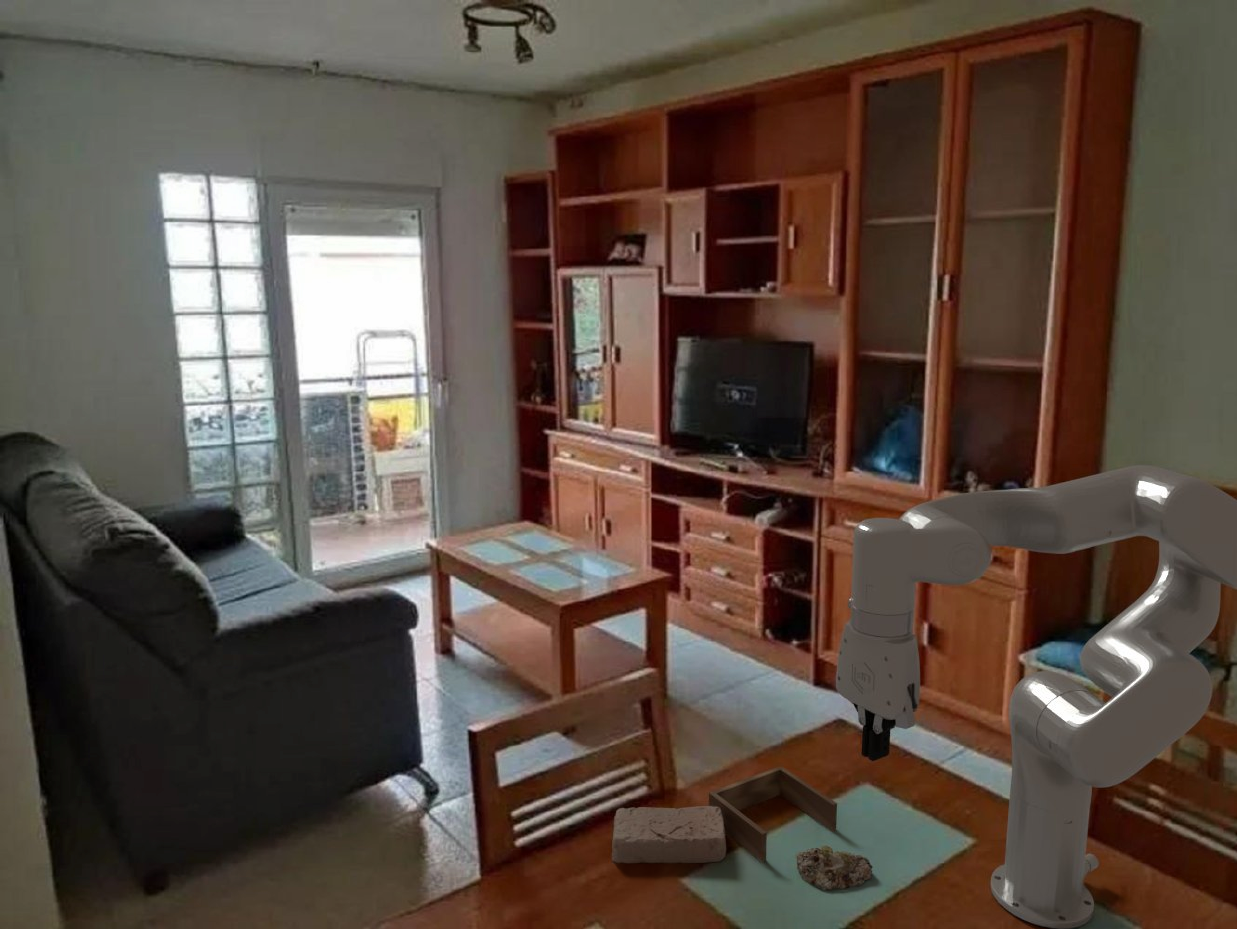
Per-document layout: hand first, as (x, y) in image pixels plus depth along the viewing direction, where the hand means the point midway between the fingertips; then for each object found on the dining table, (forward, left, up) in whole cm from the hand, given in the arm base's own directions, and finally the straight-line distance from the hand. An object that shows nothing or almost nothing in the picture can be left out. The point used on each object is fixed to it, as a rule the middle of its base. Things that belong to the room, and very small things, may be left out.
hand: (875, 755), depth 114 cm
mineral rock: (-2, -9, -24) cm, 25 cm away
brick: (+14, -26, -24) cm, 38 cm away
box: (-3, -22, -23) cm, 32 cm away
